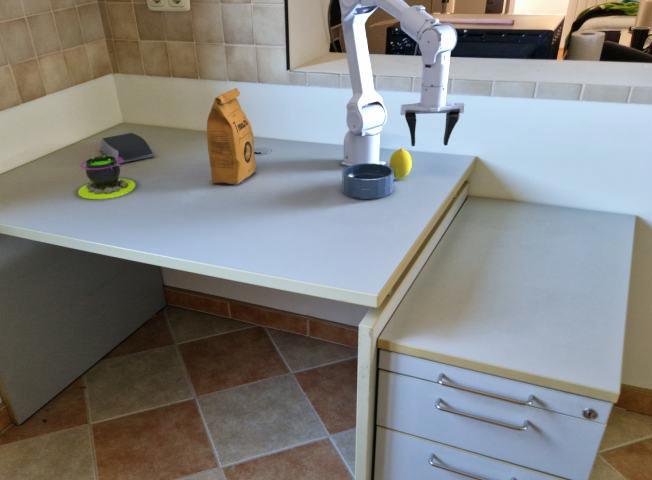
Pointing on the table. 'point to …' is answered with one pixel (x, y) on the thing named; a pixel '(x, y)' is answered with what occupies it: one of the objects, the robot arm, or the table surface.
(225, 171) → the coffee package
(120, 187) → the toy cauldron
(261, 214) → the table surface
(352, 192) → the bowl
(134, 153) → the hard drive
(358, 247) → the table surface
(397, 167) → the lemon
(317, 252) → the table surface
